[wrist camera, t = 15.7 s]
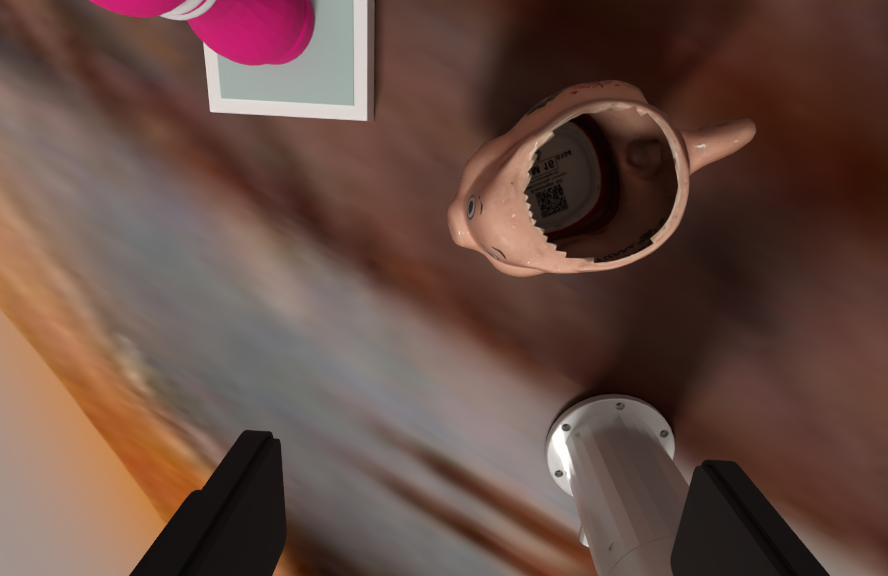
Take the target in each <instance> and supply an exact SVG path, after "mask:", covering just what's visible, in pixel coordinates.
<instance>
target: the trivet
mask: <svg viewBox="0 0 888 576" xmlns="http://www.w3.org/2000/svg"><path fill="white" fill-rule="evenodd" d="M311 3H312V7H313V11H314V30H313V34H312V38H311V40H310V42H309V44H308V46H307V48H306V49H305V50H304V52H303V53H302V54H301V55H300V56H298V57H297V58H296V59H294V60H292V61H290V62H289V63H285V64H280V65H270V64H264V65H259V66H250V65H243V64H239V63H236V62H233V61H231V60H229V59H227V58H225V57H223V56H221V55H219V54H217V53H216V52H214V51H213V50H212V49H210V48H209V47H208V46H207V45H206V44H205V43H204V42H203V43H204V53H205V63H206V73H207V83H208V94H209V104H210V112H220V113H237V114H254V115H272V116H289V117H307V118H324V119H342V120H360V121H374V8H375V0H311Z"/></svg>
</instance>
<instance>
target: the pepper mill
mask: <svg viewBox="0 0 888 576" xmlns="http://www.w3.org/2000/svg"><path fill="white" fill-rule="evenodd" d="M89 1H91V2H93V3H95V4H97V5H98V6H100V7H103V8H105V9H108V10H110V11H113V12H115V13H119V14H123V15H128V16H132V17H144V18H148V17H153V16H158V15H160V16H162V17H165V18H169V19H174V20H187V22H188V23H189V25H190V26H191V28H192V30H193V31H194V32H195V34H196V35H197V36H198V37H199V38H200V39H201V40H202V41H203V42H204V43H205V44H206V45H207V46H208V47H209V48H210V49H212V50H213V51H214V52H216V53H217V54H219V55H221V56H223V57H225V58H227V59H229V60H231V61H233V62H236V63H239V64H243V65H250V66H259V65H264V64H270V65H280V64H285V63H289V62H290V61H292V60H294V59H296V58H297V57H298V56H300V55H301V54H302V53H303V52H304V50H305V49H306V48H307V46H308V44H309V42H310V40H311V38H312V34H313V30H314V11H313V7H312V3H311V0H89Z"/></svg>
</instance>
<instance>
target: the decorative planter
mask: <svg viewBox="0 0 888 576" xmlns="http://www.w3.org/2000/svg"><path fill="white" fill-rule="evenodd" d="M755 133H756V127H755V124H754V123H753V122H752V121H751V119H750V118H744V119H736V120H727V121H717V122H713V123H710V124H708V125H706V126H703V127H702V128H700V129H699V130H698V131H684V130H679V129H676V128H675V127H674V125H673V123H672V122H671V120H670V117H669V115H667V114H666V113H665V112H664V111H662V110H660V109H658V108H656V107H654V106H652V105H650V104H648V102H647V101H646V99H645V97H644V95H643V93H642V92H641V90H640V89H639V88H638V87H636V86H634V85H632V84H630V83H627V82H623V81H618V80H605V81H594V82H586V83H581V84H577V85H574V86H570V87H567V88H565V89H562V90H560V91H558V92H556V93H554V94H552V95H550V96H549V97H547V98H545V99H543V100H542V101H540V102H539V103H537V104H536V105H534V106H533V107H532V108H531V109H530V110H529V111H528V112H527V113H525V115H524V116H523V117H522V118H521V119H520V120H519V122H518V123H517V124H516V125H515V126H514V127H513V128H512V129H511V130H510V131H508V132H507V133H506V134H504V135H502V136H500V137H497V138H494V139H492V140H490V141H488V142H486V143H484V144H483V145H482V146H481V147H480V148H479V150H478V151H477V152H476V153H475V154H474V155H473V156H472V157H471V158H470V159H469V161H468V162H467V164H466V166H465V169H464V172H463V176H462V180H461V184H460V186H459V189H458V192H457V194H456V195H455V197H454V199H453V200H452V202H451V204H450V206H449V209H448V225H449V229H450V233H451V236H452V238H453V240H454V242H455V243H456V244H458V245H459V246H462V247H466V248H470V249H474V250H477V251H479V252H481V253H483V254H484V255H485V256H486V257H487V258H488V259H489V260H490V262H491V263H492V264H493V265H494V266H495V267H496V268H497V269H498V270H499V271H501V272H503V273H506V274H509V275H512V276H517V277H528V276H533V275H538V274H542V273H546V272H549V273H581V272H596V271H603V270H611V269H615V268H619V267H622V266H625V265H627V264H630V263H633V262H635V261H637V260H640V259H642V258H644V257H646V256H648V255H649V254H651V253H652V252H654V251H655V250H656V249H658V248H659V247H660V246H661V245H662V244H663V243H664V242H665V241H666V240H667V239H668V238H669V237H670V236H671V235H672V234H673V233H674V232H675V230H676V229H677V227H678V226H679V224H680V222H681V220H682V217H683V215H684V211H685V208H686V205H687V200H688V195H689V185H690V175H691V174H692V173H693V172H695V171H696V170H698V169H700V168H702V167H704V166H705V165H707V164H709V163H712V162H714V161H717V160H719V159H722V158H724V157H726V156H728V155H730V154H732V153H734V152H736V151H737V150H739V149H740V148H742V147H743V146H744V145H746V144H747V143H748V142H750V141H751V140H752V138H753V137H754V135H755Z"/></svg>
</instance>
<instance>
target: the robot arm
mask: <svg viewBox="0 0 888 576" xmlns="http://www.w3.org/2000/svg"><path fill="white" fill-rule="evenodd" d="M674 451H675V443H674V436H673V433H672V430H671V428H670V426H669V425H668V423H667V421H666V420H665V418H664V417H663V416H662V415H661V414H660V412H659V411H658V410H657V409H656V408H654V407H653V406H652V405H650V404H649V403H647V402H645V401H643V400H641V399H639V398H636V397H632V396H629V395H621V394H606V395H599V396H595V397H591V398H588V399H586V400H583V401H581V402H578V403H577V404H575V405H574V406H572V407H570V408H569V409H567V410H566V411H565V412H564V413H563V414H562V415H561V416H560V417H559V418H558V419H557V420H556V422H555V423H554V424H553V426H552V428H551V430H550V432H549V434H548V437H547V441H546V444H545V456H546V461H547V465H548V468H549V471H550V474H551V476H552V477H553V479H554V481H555V482H556V483H557V484H558V485H559V487H560V488H561V489H562V490H564V491H565V492H567V493H568V494H569V495H571V496H573V497H574V500H575V504H576V507H577V510H578V513H579V517H580V520H581V527H580V532H579V540H580V542H581V543H582V544H583V545H585V546H587V547H589V549H590V552H591V555H592V558H593V562H594V565H595V568H596V571H597V574H598V576H830V575H829V574H828V573H827V571H826V570H825V569H824V568H823V567H822V565H821V564H820V563H819V562H818V560H817V559H816V558H815V557H814V556H813V554H812V553H811V552H810V551H809V550H808V548H807V547H806V546H805V545H804V544H803V542H802V541H801V540H800V539H799V538H798V536H797V535H796V534H795V533H794V532H793V530H792V529H791V528H790V527H789V526H788V524H787V523H786V522H785V521H784V520H783V518H782V517H781V516H780V515H779V513H778V512H777V511H776V510H775V509H774V507H773V506H772V505H771V504H770V503H769V501H768V500H767V499H766V498H765V497H764V495H763V494H762V493H761V492H760V491H759V489H758V488H757V487H756V486H755V485H754V483H753V482H752V481H751V480H750V479H749V477H748V476H747V475H746V474H745V473H744V471H743V470H742V469H741V468H740V466H739V465H738V464H736V463H735V462H733V461H721V460H705V461H704V462H703V463H702V465H701V466H697V467H696V468H695V470H694V472H693V476H692V480H691V483H690V487H689V485H688V484H687V482H686V481H685V479H684V478H683V476H682V475H681V473H680V471H679V470H678V468H677V467H676V465H675V464H674V462H673V461H672V460H673V458H674ZM285 541H286V515H285V500H284V486H283V471H282V457H281V443H280V440H279V439H273V435H272V433H271V432H269V431H253V430H245V431H243V433H242V434H241V435H240V436H239V438H238V439H237V441H236V442H235V443H234V445H233V446H232V448H231V449H230V450H229V452H228V453H227V455H226V456H225V457H224V459H223V460H222V462H221V463H220V464H219V466H218V467H217V469H216V470H215V471H214V473H213V474H212V476H211V477H210V479H209V480H208V481H207V483H206V484H205V486H204V487H203V488H202V490H195V491H193V492H191V494H190V495H189V496H188V497H187V498H186V499H185V501H184V502H183V503H182V505H181V506H180V507H179V509H178V510H177V511H176V513H175V514H174V516H173V517H172V518H171V520H170V521H169V522H168V524H167V525H166V526H165V528H164V529H163V531H162V532H161V533H160V535H159V536H158V537H157V539H156V540H155V541H154V543H153V544H152V545H151V547H150V548H149V550H148V551H147V552H146V554H145V555H144V556H143V558H142V559H141V560H140V562H139V563H138V565H137V566H136V567H135V569H134V570H133V571H132V573H131V574H130V575H129V576H272V575H273V572H274V570H275V568H276V565H277V563H278V560H279V558H280V556H281V553H282V551H283V548H284V545H285Z"/></svg>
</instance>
